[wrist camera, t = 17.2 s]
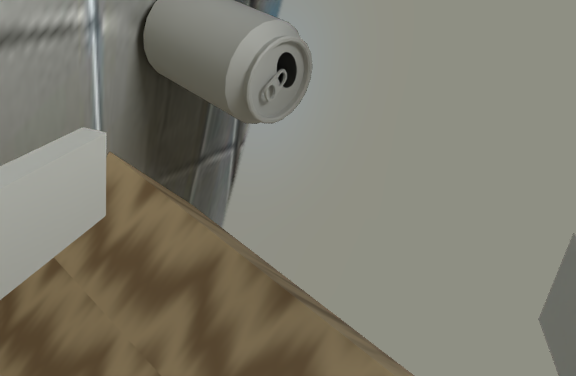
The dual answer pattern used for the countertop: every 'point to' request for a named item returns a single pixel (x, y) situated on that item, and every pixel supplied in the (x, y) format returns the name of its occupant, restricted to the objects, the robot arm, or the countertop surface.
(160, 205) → the notch post
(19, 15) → the countertop surface
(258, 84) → the can
